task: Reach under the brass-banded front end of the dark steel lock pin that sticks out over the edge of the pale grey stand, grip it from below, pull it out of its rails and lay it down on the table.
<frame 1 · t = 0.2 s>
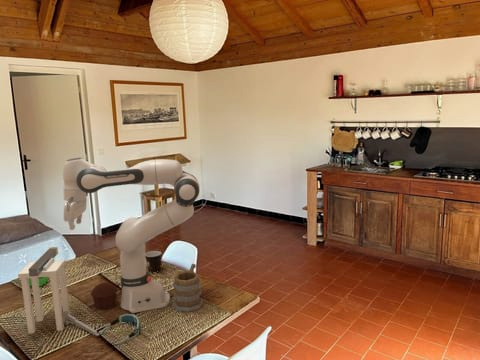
hand: (75, 226, 165), 39 cm above the table, tool pointing down, fingers open, 8 cm apart
lock pin: (44, 264, 157), point 26 cm above the table, touching pin stand
caliper: (81, 330, 155), on the table
muffin: (105, 305, 174), on the table
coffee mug: (154, 272, 209), on the table
fruit basket: (35, 285, 197), on the table
pin stand: (50, 324, 159), on the table
sunglasses: (121, 334, 151), on the table
tankard: (190, 301, 176), on the table
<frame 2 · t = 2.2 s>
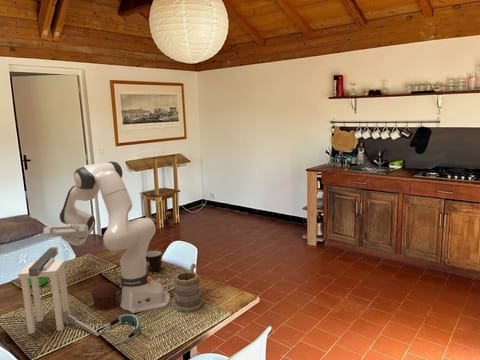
hand: (61, 227, 179), 35 cm above the table, tool pointing upward, fingers open, 8 cm apart
nothing on the table moved.
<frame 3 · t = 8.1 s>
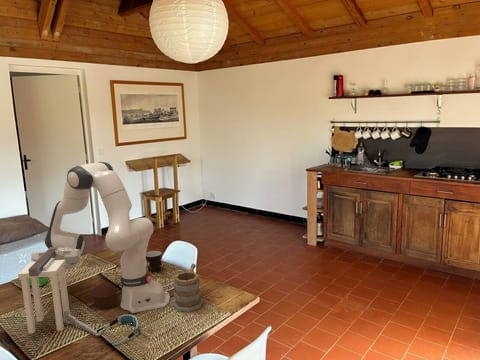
hand: (50, 252, 164), 28 cm above the table, tool pointing upward, fingers closed on lock pin, 3 cm apart
lock pin: (44, 264, 157), point 26 cm above the table, touching gripper, pin stand
everything else where it was.
when the fingers open (12 cm above the table, at t = 18.3 s): lock pin drops 6 cm, on the table.
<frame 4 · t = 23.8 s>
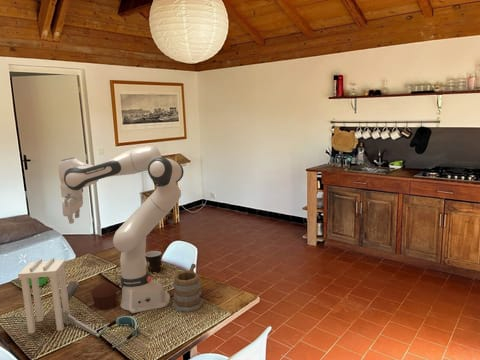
hand: (74, 220, 180), 37 cm above the table, tool pointing down, fingers open, 8 cm apart
lock pin: (68, 296, 184), on the table
sunglasses: (118, 336, 150), on the table
everything else where it was.
at the end: lock pin on the table; lock pin inside the target area (0.0 cm from its centre), on the table; the gripper is holding nothing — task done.
